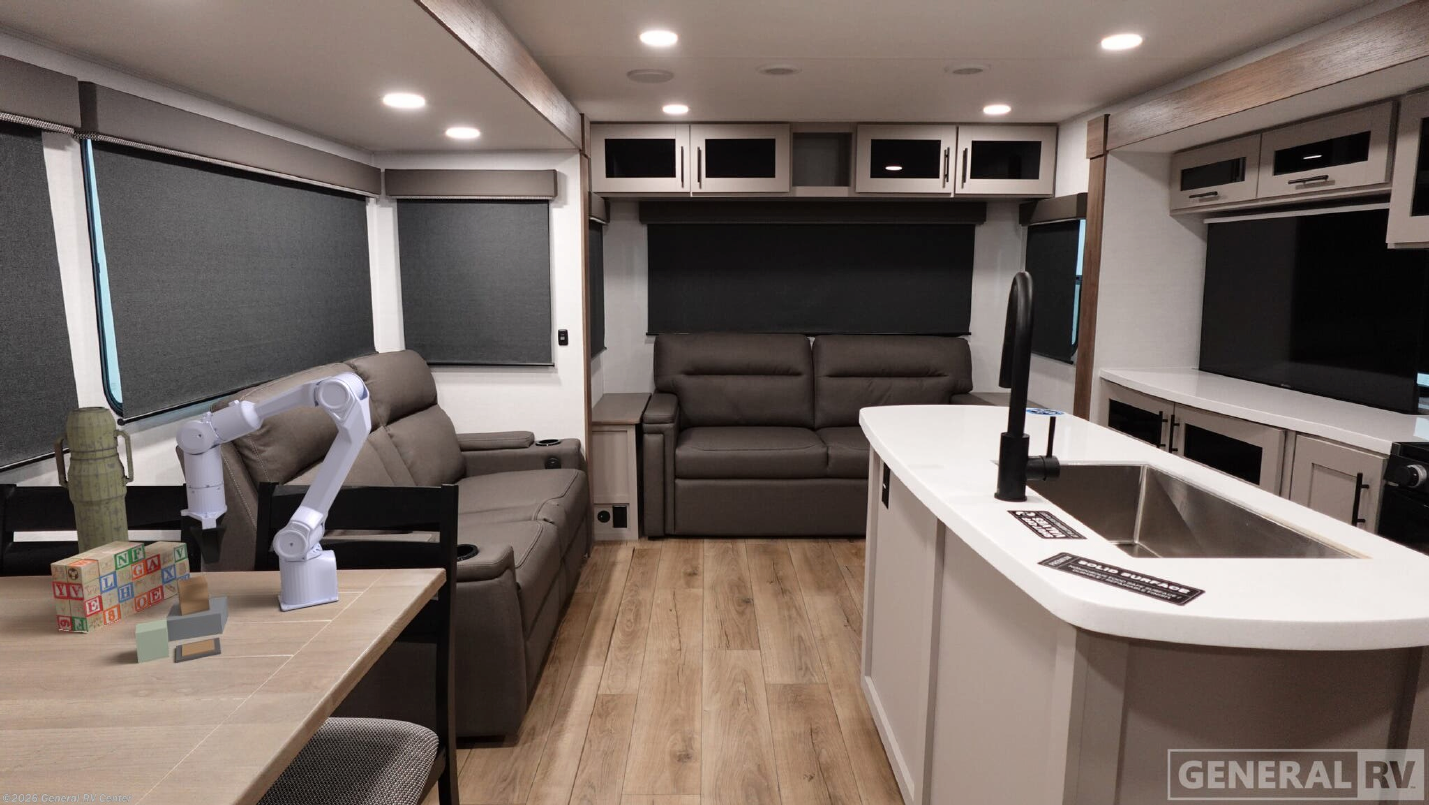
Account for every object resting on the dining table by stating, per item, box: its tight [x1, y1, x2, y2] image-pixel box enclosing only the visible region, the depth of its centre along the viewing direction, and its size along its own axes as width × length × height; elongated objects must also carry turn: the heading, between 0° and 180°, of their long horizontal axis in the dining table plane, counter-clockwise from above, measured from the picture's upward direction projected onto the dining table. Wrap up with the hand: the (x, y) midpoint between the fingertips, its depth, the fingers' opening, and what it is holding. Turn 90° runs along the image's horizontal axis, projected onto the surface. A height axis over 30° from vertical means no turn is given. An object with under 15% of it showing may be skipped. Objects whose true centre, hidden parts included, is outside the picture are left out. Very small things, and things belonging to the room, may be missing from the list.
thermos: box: [52, 406, 135, 554], centre depth 156 cm, size 9×12×35 cm
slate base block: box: [165, 595, 229, 642], centre depth 138 cm, size 8×8×4 cm
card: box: [175, 637, 222, 664], centre depth 130 cm, size 6×6×1 cm
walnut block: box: [177, 575, 210, 616], centre depth 137 cm, size 4×4×5 cm
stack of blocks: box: [50, 540, 191, 632], centre depth 146 cm, size 21×6×12 cm, turn 169°
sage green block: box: [134, 618, 170, 664], centre depth 128 cm, size 4×4×5 cm
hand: (211, 556), depth 147 cm, fingers open, 7 cm apart
